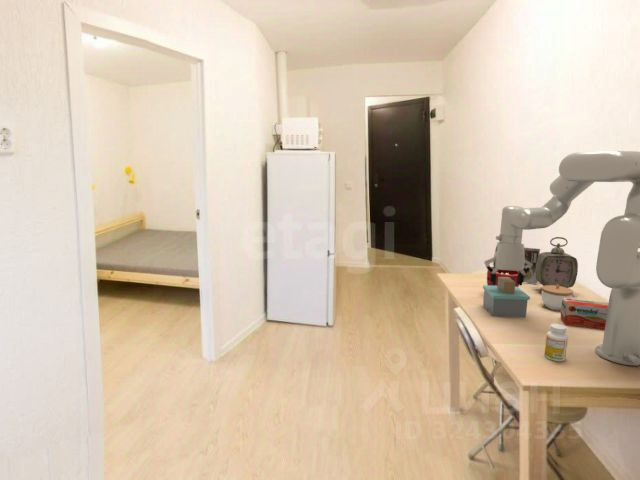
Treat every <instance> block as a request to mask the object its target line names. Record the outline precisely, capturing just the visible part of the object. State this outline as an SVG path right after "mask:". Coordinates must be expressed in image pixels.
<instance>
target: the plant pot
mask: <svg viewBox="0 0 640 480" xmlns="http://www.w3.org/2000/svg"><path fill="white" fill-rule="evenodd" d="M490 267H491V268H492V267H493V266H490ZM518 273H519V271H512V270H498V271H497V272H496V273H495V274H496V283H495V284H492V283H491V281H490V274H491V272H490V271H489V270H488V269H487V273H486V285H489V286H497V285H498V277H509V278H511V279H512V280H513V281H515V287H518V288H520V287H519V286H520V285H519V284H518V283H517V278H518Z"/></svg>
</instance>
